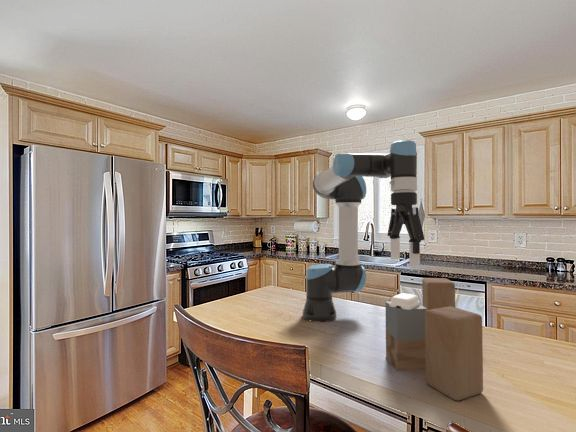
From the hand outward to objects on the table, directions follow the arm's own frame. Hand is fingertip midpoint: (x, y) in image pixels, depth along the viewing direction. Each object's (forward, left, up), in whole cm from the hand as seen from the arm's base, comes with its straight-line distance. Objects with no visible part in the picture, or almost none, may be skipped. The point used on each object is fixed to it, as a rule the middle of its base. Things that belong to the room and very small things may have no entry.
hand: (404, 261), depth 99 cm
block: (+15, +6, -31) cm, 35 cm away
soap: (0, 0, -13) cm, 13 cm away
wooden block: (-26, +25, -31) cm, 48 cm away
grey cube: (0, 0, -22) cm, 22 cm away
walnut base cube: (0, 0, -31) cm, 31 cm away
